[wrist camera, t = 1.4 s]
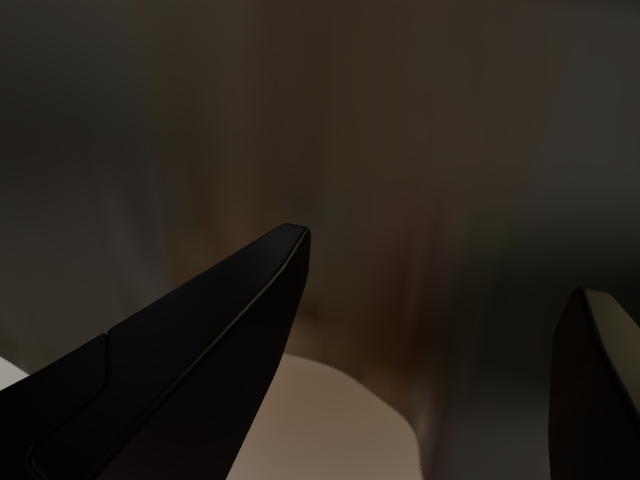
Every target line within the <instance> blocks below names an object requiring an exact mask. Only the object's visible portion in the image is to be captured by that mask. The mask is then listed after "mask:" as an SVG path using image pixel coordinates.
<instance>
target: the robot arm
mask: <svg viewBox="0 0 640 480" xmlns="http://www.w3.org/2000/svg"><path fill="white" fill-rule="evenodd" d="M310 243H311V232H310V230H309V228H307V227H304V226H299V225H294V224H290V223H284V224H282V225H280V226H278V227H277V228H275V229H273V230H272V231H270V232H268V233H267V234H265V235H263V236H262V237H260V238H258V239H257V240H255V241H254V242H252V243H250V244H249V245H247V246H245V247H244V248H242V249H240V250H239V251H237V252H235V253H234V254H232V255H231V256H229V257H227V258H226V259H224V260H222V261H221V262H219V263H217V264H216V265H214V266H213V267H211V268H209V269H208V270H206V271H204V272H203V273H201V274H199V275H198V276H196V277H194V278H193V279H191V280H190V281H188V282H186V283H185V284H183V285H181V286H180V287H178V288H176V289H175V290H173V291H171V292H170V293H168V294H167V295H165V296H163V297H162V298H160V299H158V300H157V301H155V302H153V303H152V304H150V305H148V306H147V307H145V308H144V309H142V310H140V311H139V312H137V313H135V314H134V315H132V316H130V317H129V318H127V319H126V320H124V321H122V322H121V323H119V324H117V325H116V326H114V327H112V328H111V329H109V330H108V332H107V335H106V334H105V333H103V334H101V335H99V336H97V337H96V338H94V339H92V340H91V341H89V342H87V343H86V344H84V345H82V346H81V347H79V348H77V349H76V350H74V351H72V352H71V353H69V354H67V355H65V356H64V357H62V358H60V359H58V360H57V361H55V362H53V363H51V364H50V365H48V366H46V367H45V368H43V369H41V370H39V371H37V372H35V373H33V374H31V375H30V376H28V377H26V378H24V379H22V380H20V381H18V382H16V383H14V384H12V385H11V386H9V387H7V388H5V389H3V390H1V391H0V480H226V478H227V476H228V473H229V471H230V469H231V467H232V465H233V463H234V461H235V459H236V457H237V454H238V452H239V450H240V448H241V446H242V444H243V442H244V440H245V437H246V435H247V433H248V431H249V429H250V427H251V425H252V423H253V420H254V418H255V416H256V414H257V412H258V410H259V408H260V406H261V403H262V401H263V399H264V397H265V395H266V393H267V391H268V389H269V386H270V384H271V382H272V380H273V378H274V375H275V373H276V371H277V368H278V366H279V363H280V361H281V358H282V355H283V352H284V349H285V346H286V343H287V340H288V337H289V334H290V331H291V328H292V324H293V321H294V318H295V315H296V312H297V309H298V306H299V303H300V300H301V297H302V293H303V290H304V287H305V284H306V280H307V276H308V270H309V257H310ZM548 448H549V463H550V477H551V480H640V328H639V326H638V325H637V324H636V323H635V322H634V321H633V320H632V318H631V317H630V316H629V315H628V314H627V313H626V312H625V310H624V309H623V308H622V307H621V306H620V305H619V304H618V302H617V301H616V300H615V299H614V298H613V297H612V296H611V295H610V294H609V293H608V292H606V291H602V290H598V289H593V288H588V287H584V286H579V287H577V288H575V289H574V291H573V292H572V294H571V296H570V298H569V300H568V302H567V304H566V306H565V309H564V311H563V313H562V315H561V317H560V319H559V321H558V323H557V326H556V329H555V332H554V337H553V350H552V367H551V385H550V402H549V420H548Z"/></svg>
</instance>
